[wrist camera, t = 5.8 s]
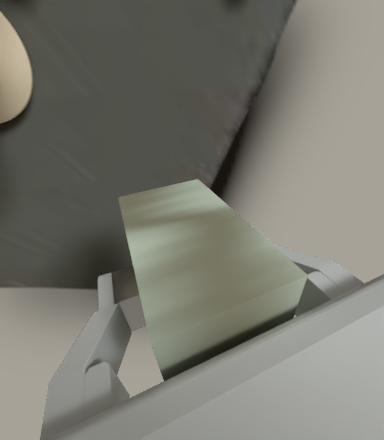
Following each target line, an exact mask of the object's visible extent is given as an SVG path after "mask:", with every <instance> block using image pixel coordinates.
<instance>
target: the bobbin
mask: <svg viewBox="0 0 384 440" xmlns="http://www.w3.org/2000/svg"><path fill="white" fill-rule="evenodd" d="M33 88H34V75H33V68H32V64H31V60H30V57H29V55H28V52H27V50H26V48H25V45H24V43H23V41H22V40H21V38H20V36H19V35H18V33H17V31H16V30H15V29H14V27H13V26H12V24H11V23H10V22H9V21H8V19H7V18H6V17H5V16H4V15H3V13H2V12H1V11H0V123H3V122H6V121H9V120H11V119H13V118H15V117H17V116H18V115H19V114H20V113H22V112H23V110H24V109H25V108H26V107H27V105H28V104H29V102H30V99H31V97H32V93H33Z"/></svg>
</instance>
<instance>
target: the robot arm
mask: <svg viewBox="0 0 384 440" xmlns="http://www.w3.org/2000/svg"><path fill="white" fill-rule="evenodd" d="M254 229H255V228H254ZM258 232H259V231H258ZM259 233H260V232H259ZM260 234H261V233H260ZM261 235H262V234H261ZM262 236H263V235H262ZM265 238H266V237H265ZM266 239H267V238H266ZM267 240H268V239H267ZM268 241H269V240H268ZM269 242H270V241H269ZM272 244H273V243H272ZM273 245H274V244H273ZM274 246H275V245H274ZM275 247H276V248H277V249H279V250H280V251H281V252H282V253H283V254H284V255H285V256H287V257H288V258H289V259H290V260H291V261H292V262H293V263H295V264H296V265H297V266H298V267H299V268H300V269H301V270H303V271H304V272H305V273H306V274H307V275H308V277H307V280H306V283H305V285H304V288H303V291H302V294H301V297H300V300H299V303H298V306H297V309H296V312H295V315H296V316H297V317H295V318H293V319H291V320H289V321H287V322H285V323H283V324H281V325H279V326H276V327H274V328H272V329H270V330H268V331H266V332H264V333H262V334H260V335H258V336H256V337H254V338H252V339H250V340H248V341H246V342H244V343H242V344H240V345H238V346H236V347H233V348H231V349H229V350H227V351H225V352H223V353H221V354H219V355H217V356H215V357H213V358H211V359H209V360H207V361H205V362H203V363H201V364H199V365H197V366H195V367H193V368H190V369H188V370H186V371H184V372H182V373H180V374H178V375H176V376H174V377H172V378H170V379H168V380H166V381H164V382H162V383H160V384H158V385H156V386H154V387H152V388H150V389H148V390H146V391H143V392H141V393H140V394H137V395H135V396H133V397H131V398H130V397H129V394H128V392H127V391H126V389H125V387H124V386H123V384H122V383H121V381H120V380H119V378H118V377H117V373H118V371H119V368H120V365H121V362H122V359H123V356H124V353H125V351H126V348H127V345H128V342H129V339H130V336H131V332H132V331H134V330H136V329H138V328H141V327H143V326H145V325H146V322H145V317H144V313H143V308H142V303H141V299H140V294H139V290H138V285H137V281H136V276H135V272H134V267H133V266H130V267H127V268H123V269H120V270H116V271H113V272H111V273H107V274H104V275H100V276H99V277H98V311H95V312H94V313H93V314H92V316H91V318H90V319H89V321H88V323H87V324H86V326H85V327H84V329H83V330H82V332H81V334H80V335H79V337H78V338H77V340H76V341H75V343H74V344H73V346H72V348H71V349H70V351H69V353H68V354H67V356H66V357H65V359H64V360H63V362H62V364H61V365H60V367H59V368H58V370H57V371H56V373H55V375H54V376H53V378H52V379H51V381H50V383H49V386H48V392H47V399H46V405H45V411H44V418H43V424H42V431H41V437H40V440H384V274H383V275H381V276H379V277H377V278H375V279H373V280H371V281H369V282H367V283H365V284H364V283H363V282H361V281H360V280H359V279H357V278H356V277H355V276H353V275H352V274H351V273H349V272H348V271H346V270H345V269H344V268H342V267H341V266H339V265H338V264H337V263H335V262H332V261H329V260H326V259H323V258H319V257H316V256H313V255H309V254H306V253H302V252H299V251H296V250H293V249H289V248H286V247H283V246H279V245H278V246H275Z"/></svg>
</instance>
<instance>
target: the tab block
mask: <svg viewBox="0 0 384 440" xmlns="http://www.w3.org/2000/svg"><path fill="white" fill-rule="evenodd" d="M118 199H119V204H120V209H121V213H122V218H123V222H124V227H125V231H126V236H127V240H128V245H129V249H130V254H131V258H132V263H133V267H134V272H135V276H136V281H137V285H138V290H139V294H140V299H141V303H142V308H143V313H144V317H145V322H146V326H147V330H148V335H149V340H150V343H151V346H152V349H153V352H154V355H155V357H156V360H157V362H158V365H159V368H160V371H161V374H162V376H163V379H164V381H166V380H168V379H170V378H172V377H174V376H176V375H178V374H180V373H182V372H184V371H186V370H188V369H190V368H193V367H195V366H197V365H199V364H201V363H203V362H205V361H207V360H209V359H211V358H213V357H215V356H217V355H219V354H221V353H223V352H225V351H227V350H229V349H231V348H233V347H236V346H238V345H240V344H242V343H244V342H246V341H248V340H250V339H252V338H254V337H256V336H258V335H260V334H262V333H264V332H266V331H268V330H270V329H272V328H274V327H276V326H279V325H281V324H283V323H285V322H287V321H289V320H291V319H293V317H294V315H295V312H296V309H297V306H298V303H299V300H300V297H301V294H302V291H303V288H304V285H305V283H306V280H307V277H308V275H307V274H306V273H305V272H304V271H303V270H301V269H300V268H299V267H298V266H297V265H296V264H295V263H293V262H292V261H291V260H290V259H289V258H288V257H287V256H285V255H284V254H283V253H282V252H281V251H280V250H279V249H277V248H276V247H275V246H274V245H273V244H272V243H271V242H269V241H268V240H267V239H266V238H265V237H264V236H262V235H261V234H260V233H259V232H258V231H257V230H256V229H254V228H253V227H252V226H251V225H250V224H249V223H247V222H246V221H245V220H244V219H243V218H242V217H241V216H240V215H238V214H237V213H236V212H235V211H234V210H232V208H230V207H229V206H228V205H227V204H226V203H225V202H223V201H222V200H221V199H220V198H219V197H218V196H217V195H215V194H214V193H213V192H212V191H211V190H210V189H209V188H207V187H206V186H205V185H204V184H203V183H202V182H201V181H199V180H198V179H196V180H192V181H188V182H183V183H179V184H174V185H170V186H166V187H161V188H157V189H153V190H148V191H144V192H139V193H135V194H131V195H126V196H122V197H118Z"/></svg>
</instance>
